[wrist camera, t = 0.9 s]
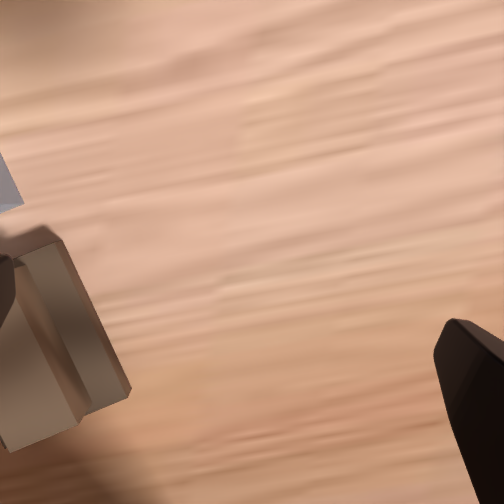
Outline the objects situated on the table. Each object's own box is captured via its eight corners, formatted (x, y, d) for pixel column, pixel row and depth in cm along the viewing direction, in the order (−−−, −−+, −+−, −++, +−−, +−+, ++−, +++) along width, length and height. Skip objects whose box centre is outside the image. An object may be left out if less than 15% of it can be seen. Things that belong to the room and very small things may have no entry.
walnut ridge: (131, 388, 25) (116, 419, 22) (15, 437, 25) (-20, 476, 21) (62, 240, 24) (33, 247, 20) (-61, 290, 24) (-111, 306, 20)
